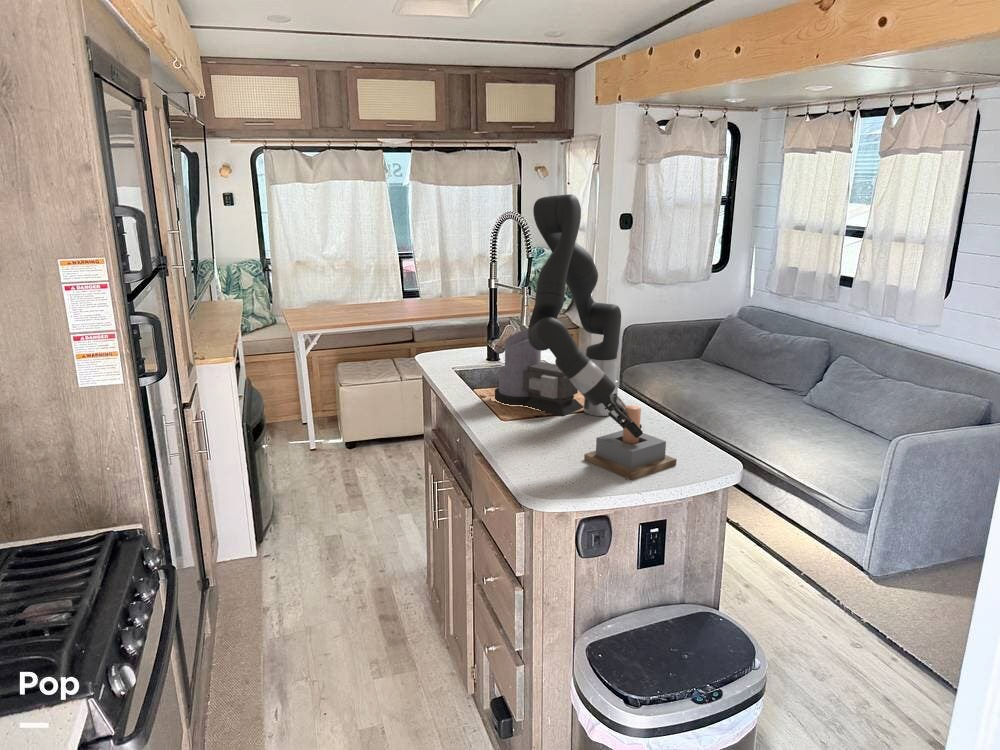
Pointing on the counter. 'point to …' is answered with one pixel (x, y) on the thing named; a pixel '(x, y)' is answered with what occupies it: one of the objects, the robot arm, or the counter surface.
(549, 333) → the robot arm
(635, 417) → the peg
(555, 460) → the counter surface
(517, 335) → the juicer
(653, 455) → the socket
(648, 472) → the socket board
